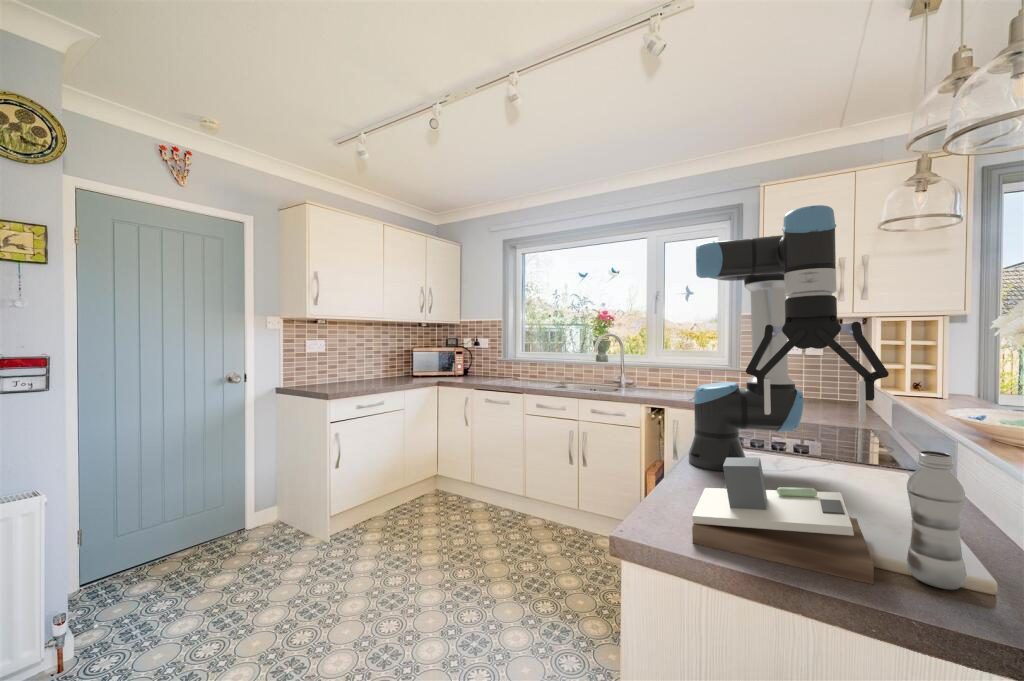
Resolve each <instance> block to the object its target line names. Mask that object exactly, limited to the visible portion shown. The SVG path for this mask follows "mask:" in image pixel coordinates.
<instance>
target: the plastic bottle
mask: <svg viewBox="0 0 1024 681" xmlns="http://www.w3.org/2000/svg"><path fill="white" fill-rule="evenodd" d="M917 464H918V465H919V468H918V469H916V470H915V471H914V472H913V473H912V474H910V476H909V477H908V479H907V482H906V490H907V495H908V502H909V506H910V515H911V516H910V517H911V533H910V543H909V546H908V549H907V556H906V562H907V567H908V571H909V572H910V573H911V574H912V576H913V577H914V578H915V579H917V580H918V581H920V582H921V583H923V584H926V585H929V586H931V587H934V588H937V589H943V590H949V591H950V590H951V591H953V590H954V591H955V590H958V589H960V588H961V587H963V586H964V585H965V582H966V578H967V570H966V565H965V564H966V563H965V561H964V558H963V551H962V544H961V525H962V524H961V523H962V515H963V511H964V510H963V509H964V505H965V500H966V492H965V489H964V486H963V484H962V483H961V482H960V481H959V480H958V478H957V477H956V476H955V475H954V474H953V473H952V472H951V470H952V469H954V464H953V455H952V454H950V453H946V452H941V451H935V450H919V452H918V460H917Z"/></svg>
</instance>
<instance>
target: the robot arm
mask: <svg viewBox="0 0 1024 681" xmlns="http://www.w3.org/2000/svg"><path fill="white" fill-rule="evenodd" d="M835 219H836V218H835V212H834V209H833V208H832V207H831V206H828V205H822V204H819V205H808V206H803V207H799V208H796V209H792V210H791V211H788V212H787V213H785V215H784V217H783V224H782V225H783V226H782V230H781V231H782V233H783V234H781V235H771V236H762V237H751V238H742V239H729V240H720V241H718V240H717V241H715V240H714V241H712V240H711V241H709V242H703V243H699V244H698V245H696V247H695V270H696V271H695V272H696V273H695V274H696V276H697V278H700V279H712V280H713V279H714V280H719V281H728V282H729V281H730V282H734V281H744V282H743V283H744V288H746V290H748V291H749V293H750V315H751V316H750V322H751V324H750V326H751V360H750V361H749V364H748V365H747V367H746V369H745V373H746V374H747V375H750V377H749V379H747V380H746V383H745V384H746V386H745V387H740V385H739V384H738V383H737V382H733V381H728V382H727V381H723V382H711V383H705V384H701V385H699V386H697V387H696V388H695V389H694V396H693V405H694V436H693V439H692V443H691V445H690V447H689V451H688V462H689V463H690V464H691V465H694V466H695V467H698V468H701V469H705V470H710V471H717V472H724V470H723V464H724V462H725V460H726V458H747V456H746V455H745V451H744V449H743V446H742V444H741V440H740V435H739V434H740V430H751V431H752V430H753V431H771V432H773V431H774V432H776V433H779V432H794V431H795V430H797V429H798V427H799V426H800V423H801V421H802V416H803V412H804V398H803V397H804V394H803V391H802V390H801V389H799V388H796V382H795V381H794V380H792V379H791V378H790V377H789V362H788V359H789V357H788V356H789V354H788V353H789V352H790V351H791V350H793V349H794V347H796V348H798V349H800V350H801V349H802V350H806V349H817V350H819V349H821V350H822V349H824V348H826V347H829V348H830V349H831V350H832V351H834V352H835V353H836V354H837V355H838V356H839V357H840V358H841V359H842V360H843V361H845V363H847V364H848V365H849V366H850V367H851V368H852V369H853V370H854V371H855V372H857V373H858V375H860V377H861V378H863V380H857V386H858V387H857V389H858V390H857V393H858V395H857V396H858V419H859V422H867V404H866V403H867V401H872V402H874V399H875V382H876V381H877V380H880V379H884V378H885V379H886V378H888V377H889V371H888V370H887V368H886V367H885V366H884V364H883V362H882V361H881V359H880V358H879V357H878V355H877V354H876V352H875V351H874V349H873V348H872V347H871V345H870V343H869V342H868V340H867V339H866V338H865V335H864V334H863V329H862V328H863V327H862V324H861V322H859V321H853V322H850V323H843V324H840V322H839V320H838V302H837V297H836V296H835V295H833V294H835V293H836V292H837V291H838V290H837V269H836V268H837V267H836V265H837V264H836V263H837V262H836V260H837V259H836V256H837V255H836V227H837V224H836V220H835ZM841 331H844V332H845V333H846V335H847V336H850V337H852V338H853V339H854V341H855V343H856V345H857V346H858V347H859V349H860V351H861V352H862V354H863V355H864V356H865V358H866V360H867V361H868V362H869V364H870V366H871V367H872V368H873V370H874V371H871V372H870V371H868V369H867V368H866V367H864V366H863V365H862V364H861V363H860V362H859V361H858V360H857V359H856V358H854V356H852V355H851V354H850V353H849V352H848V351H847V350H846V349H845V348H843V346H841V344H839V342H837V341H836V340H835V338H836V337H837V336H838V334H839V333H840V332H841Z"/></svg>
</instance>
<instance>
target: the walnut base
mask: <svg viewBox="0 0 1024 681" xmlns="http://www.w3.org/2000/svg"><path fill="white" fill-rule="evenodd" d="M849 518H850V521H851V524H852V527H853V533H854V536H852V535H839V534H826V533H813V532H800V531H787V530H774V529H760V528H747V527H734V526H721V525H708V524H695V523H693V522H692V527H691V530H692V532H691V535H692V544H695V545H699V544H700V546H703V545H704V547H708V546H709V548H712V547H713V549H717V550H721V551H726V552H730V553H734V554H740V555H743V556H748V557H752V558H756V559H760V560H766V561H770V562H774V563H779V564H782V565H786V566H787V565H788V566H791V567H796V568H799V569H800V568H801V569H806V570H809V571H813V572H817V573H823V574H827V575H832V576H835V577H840V578H844V579H849V580H852V581H853V580H854V581H856V582H862V583H867V584H869V585H870V584H871V585H874V584H875V583H874V582H875V581H874V580H875V574H874V572H875V571H874V570H875V566H874V565H875V564H874V561H873V558H872V557H871V556H872V555H871V553H870V551H869V549H868V545H867V543H866V540H865V538H864V534H863V532H862V528H861V527H860V525H859V522H858V519H857V517H852V516H851V517H850V516H849Z"/></svg>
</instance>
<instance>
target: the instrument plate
mask: <svg viewBox="0 0 1024 681" xmlns="http://www.w3.org/2000/svg"><path fill="white" fill-rule="evenodd" d="M723 470H724V471H723V474H724V481H725V485H726V488H719V487H705V488H704V489H703V491H702V494H700V498H699V500H698V502H697V504H696V507H695V509H694V511H693V513H692V514H691V515H692V516H691V518H692V524H693V523H695V524H708V525H721V526H734V527H747V528H760V529H774V530H787V531H800V532H813V533H826V534H839V535H852V536H854V533H853V527H852V524H851V521H850V518H849V517H850V516H849V513H848V509H847V506H846V504H845V501H844V498H843V496H842V495H843V494H842V492H839V491H838V492H835V491H817V490H816V489H815V488H812V487H786V486H785V487H784V486H782V487H781V486H779V487H777V489H775V490H773V489H766V484H765V478H764V472H763V468H762V460H761V457H746V458H726V460H725V462H724V464H723Z"/></svg>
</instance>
